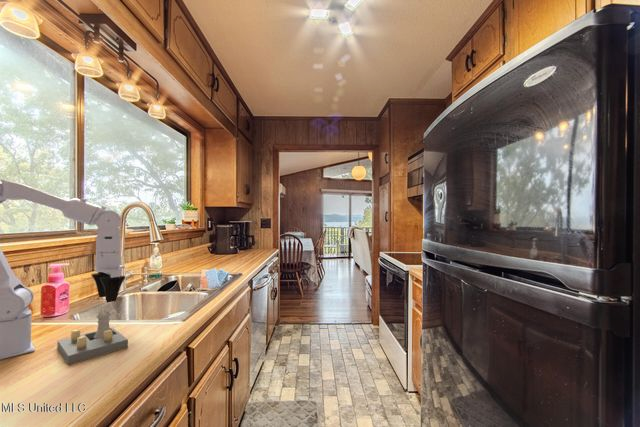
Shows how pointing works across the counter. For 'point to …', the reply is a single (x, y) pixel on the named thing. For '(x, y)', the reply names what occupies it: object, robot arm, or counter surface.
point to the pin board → (90, 345)
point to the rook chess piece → (102, 324)
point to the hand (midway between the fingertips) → (107, 299)
